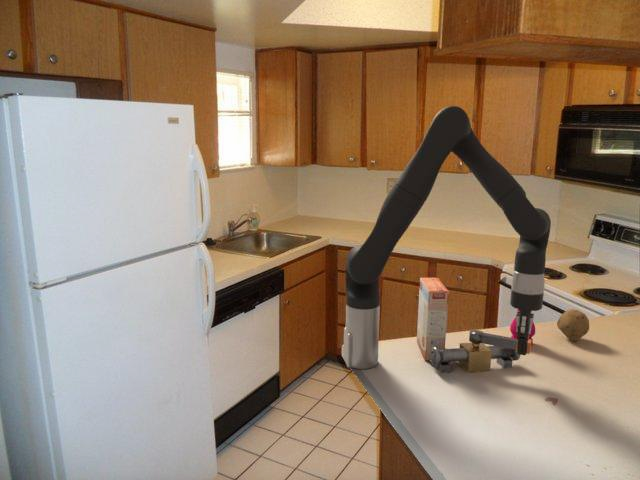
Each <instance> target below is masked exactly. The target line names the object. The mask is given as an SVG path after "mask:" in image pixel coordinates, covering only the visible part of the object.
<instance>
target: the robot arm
mask: <svg viewBox="0 0 640 480" xmlns="http://www.w3.org/2000/svg"><path fill="white" fill-rule="evenodd" d="M471 125H472V124H471V122H470V117H469V115H468V113H467V112H466V111H465V109H463V108H461V107H460V106H457V105H450V106H446V107H444V108H442V109H441V110H439V111H438V112H437V113H436V114H435V116H434V117H433V119H432V121H431V123H430V125H429V127H428V129H427V131H426V133H425V136H424V137H423V139H422V142H421V143H420V145H419V147H418V149H417V151H416V152H415V153H414V155H413V156H412V158H411V159H410V160H409V162H408V163H407V164H406V166H405V168H404V169H403V170H402V172H401V173H400V175H399V177H398V178H397V179H396V181H395V182H394V184H393V186H392V187H391V189H389V192H388V194H387V195H386V197H385V198H384V202H383V203H382V206H381V207H380V210H379V212H378V216H377V219H376V221H375V224H374V227H373V228H372V230H371V232H370V233H369V235H368V237H367V238H366V239H365V241H364V242H363V244H358V245H356V246H354V247H352V248H351V249H350V250H349V251H348V253H347V254H346V259H345V327H344V328H343V356H342V357H343V360H344V362H345V365H346V366H347V368H353V369H359V370H368V369H372V368H375V367H376V366H377V365H378V364H379V341H380V340H379V337H380V335H379V334H380V309H381V307H380V306H381V305H380V304H381V303H380V302H381V300H380V299H381V294H380V285H379V277H380V276H381V274H382V272H383V271H384V269H385V267H386V264H387V263H388V260H389V259H390V257H391V254H392V252H393V251H394V249H395V247H396V246H397V244H398V242H399V240H401V238H402V237H403V235H404V234H405V233H406V232H407V229H409V227H410V226H411V224H412V222H413V221H414V219H415V218H416V217H417V215H418V213H419V212H420V210H421V209H422V207H423V206H424V205H425V202H426V201H427V200H428V198H429V195H430V193H431V191H432V190H433V187H434V186H435V185H434V184H435V182H436V180H437V177H438V175H439V172H440V170H441V168H442V166H443V164H444V163H445V161H446V160H447V158H448V156H449V155H450V154H451V153H453V154H454V156H455V157H457V158H458V159H459V160H460V161H461V162H462V163H463V164H464V165H465V166H466V167H467V168H468V169H469V170H470V172H471V173H472V174H473V176H474V177H475V178H476V180H477V181H478V182H479V184H480V185H481V186H482V187H483V189H484V190H485V192H486V194H488V195H489V196H490V198H491V199H492V200H493V201H494V202H495V204H497V206H498V207H499V208H500V209H501V211H502V212H503V215H505V217H506V219H507V221H508V222H509V224H510V225H511V227H512V228H513V229H514V231H515V232H516V233H517V234H518V235H519V242H518V243H519V244H518V247H517V249H516V252H515V256H514V264H513V265H514V267H513V273H512V279H511V290H510V302H509V303H510V304H509V305H510V306H511V307H513V308H514V309H517V310H518V309H519V310H520V312H518V311H516V315H515V317H516V322H517V327H516V332H517V340H518V348H517V354H519V355H520V356H526V355H527V354H526V353H527V343H528V341H529V339H528V338H529V334H530V333H531V329H532V323H533V322H534V319H535V318H534V317H535V313H533V311H534V312H538V311H540V310H542V308H543V303H544V295H545V294H544V292H545V284H546V283H545V281H546V280H545V278H546V277H545V271H546V261H547V260H546V254H547V248H548V244H549V243H548V242H549V239H550V233H551V225H552V223H551V217H550V215H549V214H548V213H547V211H546V210H544V209H542V208H537V207H535V205H533V204H532V203H531V201H530V200H529V199H528V197H527V193H526V191H525V190H524V188H523V187H522V185H521V184H520V183H519V182H518V181H517V180H516V178H514V176H513V175H512V173H511V172H510V171H508V170H507V169H506V167H504V166H503V165H502V164H501V163H500V162H499V161H498V160H497V159H496V158H495V157H494V156H492V155H491V154H490V153H489V152H488V150H487V149H486V148H485V146H484V145H482V142H480V140H479V139H478V137H477V135H476V134H475V132H474V131H473V128H472V126H471Z"/></svg>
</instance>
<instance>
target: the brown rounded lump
mask: <svg viewBox="0 0 640 480" xmlns="http://www.w3.org/2000/svg"><path fill="white" fill-rule="evenodd" d="M556 326H557V328H558V329H559V330H560V331H561V332H562V334H563V335H565V337H566V338H567V339H569V340H570V341H573V342H574V341H575V342H576V341H578V340H580V339H582V338H583V337H584V336H585V335H587V334H588V332H589V330H590V320H589V318H588V317H587V315H586V314H585V313H584V312H582V311H581V310H578V309H576V308H571V309H568V310H565V311H564V312H563V313H562V314H561V315H560V316H559V317H558V319H557V321H556Z"/></svg>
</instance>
